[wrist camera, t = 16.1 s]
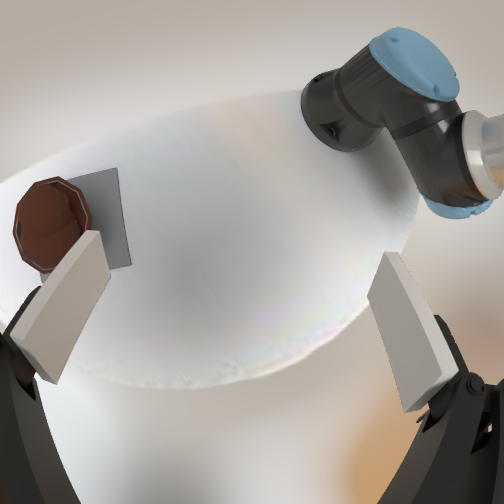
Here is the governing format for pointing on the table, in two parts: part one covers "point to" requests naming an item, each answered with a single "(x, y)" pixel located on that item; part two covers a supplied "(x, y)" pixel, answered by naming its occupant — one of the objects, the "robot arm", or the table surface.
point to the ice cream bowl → (50, 222)
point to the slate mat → (105, 215)
